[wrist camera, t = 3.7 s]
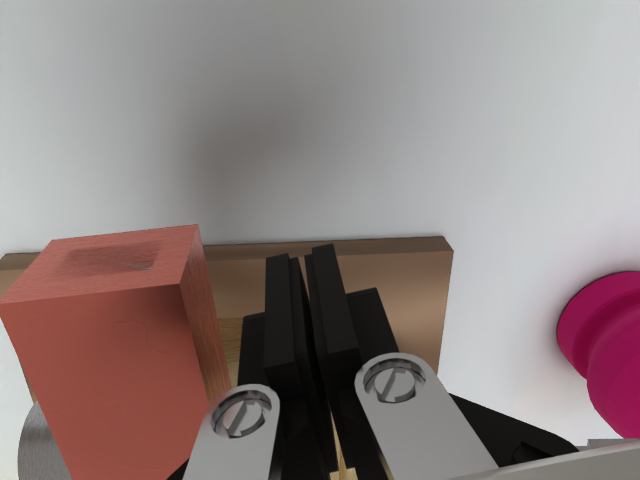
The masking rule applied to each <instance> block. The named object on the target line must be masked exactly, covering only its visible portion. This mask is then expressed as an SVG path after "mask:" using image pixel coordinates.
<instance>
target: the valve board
mask: <svg viewBox="0 0 640 480" xmlns="http://www.w3.org/2000/svg"><path fill="white" fill-rule="evenodd" d="M330 243H333V245H334V249H335V253H336V257H337V261H338V265H339V269H340V273H341V277H342V281H343V285H344V289H345V293H351V292H355V291H360V290H364V289H369V288H373V287H376V288H377V290H378V293H379V296H380V298H381V301H382V304H383V307H384V310H385V312H386V315H387V318H388V321H389V324H390V326H391V329H392V332H393V335H394V338H395V341H396V343H397V346H398V349H399V352H400V353H407V354H411V355H415V356H417V357H419V358H421V359H423V360H424V361H425V362H426V363H427V364H428V365H429V366H430V367H431V368H432V370H433V371H434V373H435V374H436V376H437V373H438V365H439V357H440V350H441V342H442V335H443V327H444V320H445V312H446V305H447V297H448V290H449V282H450V275H451V267H452V259H453V252H454V251H453V249H452V248H451V246H450V245H449V244H448V242H447V241H446V240H445V238H444V237H418V238H393V239H368V240H344V241H319V242H294V243H269V244H244V245H220V246H203V251H204V256H205V260H206V265H207V270H208V275H209V280H210V284H211V289H212V294H213V299H214V304H215V308H216V313H217V318H236V317H244V316H247V315H251V314H256V313H260V312H265V271H266V258H267V257H271V256H276V255H280V254H285V253H288V254H289V257H290V258H294V257H298V259H299V262H300V266H301V270H302V274H303V278H304V282H305V285H306V289H307V293H308V297H309V291H308V284H307V276H306V268H305V260H304V255H307V254H312V249H311V248H312V247H316V246H321V245H325V244H330ZM39 254H40V253H21V254H6V255H5V256H3V257H2V258H1V259H0V298H1V297H2V296H3V295H4V294H5V293H6V292H7V290H8V289H9V288H10V287H11V286H12V285H13V284H14V283H15V281H16V280H17V279H18V278H19V277H20V276H21V275H22V273H23V272H24V271H25V270H26V269H27V268H28V267H29V266H30V264H31V263H32V262H33V261H34V260H35V259H36V258H37V257H38V255H39ZM309 301H310V299H309ZM18 359H19V358H18ZM19 362H20V360H19ZM20 365H21V362H20ZM21 367H22V365H21ZM22 370H23V373H24V376H25V379H26V382H27V385H28V388H29V391H30V394H31V397H32V400H33V403H34V404H35V403H36V401H37V398H36V396H35V394H34V392H33V389H32V387H31V385H30V383H29V380H28V378H27V376H26V374H25V371H24V369H23V367H22Z"/></svg>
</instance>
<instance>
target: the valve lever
mask: <svg viewBox="0 0 640 480" xmlns="http://www.w3.org/2000/svg"><path fill="white" fill-rule="evenodd" d="M0 317H1V320H2V322H3V324H4V326H5V329H6V331H7V333H8V335H9V338H10V340H11V342H12V344H13V347H14V349H15V351H16V353H17V356H18V358H19V360H20V362H21V365H22V367H23V369H24V371H25V374H26V376H27V378H28V380H29V383H30V385H31V387H32V389H33V392H34V394H35V396H36V398H37V401H38V403H39V405H40V407H41V410H42V412H43V414H44V416H45V419H46V421H47V423H48V425H49V428H50V430H51V432H52V434H53V437H54V439H55V441H56V443H57V446H58V448H59V450H60V452H61V455H62V457H63V459H64V462H65V464H66V466H67V468H68V471H69V473H70V475H71V477H72V480H166V479H167V478H168V477H169V476H170V475H171V474H172V473H173V472H175V471H176V470H177V469H178V468H179V467H180V466H181V465H182V464H183V463H184V462H185V461H186V460H187V459H188V458H190V456H191V453H192V450H193V447H194V444H195V441H196V438H197V435H198V432H199V430H200V427H201V424H202V421H203V418H204V415H205V413H206V412H207V410H208V408H209V406H210V405H211V404H212V403H213V402H214V401H215V400H216V399H217V398H218V397H219V396H221V395H222V394H224V393H225V392H227V391H229V390H231V389H232V385H231V380H230V376H229V371H228V366H227V361H226V356H225V352H224V347H223V342H222V337H221V332H220V328H219V323H218V318H217V313H216V308H215V304H214V299H213V294H212V289H211V284H210V280H209V275H208V270H207V265H206V260H205V256H204V251H203V246H202V241H201V237H200V232H199V227H198V224H195V225H185V226H176V227H167V228H158V229H149V230H140V231H131V232H122V233H113V234H104V235H94V236H85V237H76V238H67V239H58V240H52V241H51V242H50V243H49V244H48V245H47V246H46V248H45V249H44V250H43V251H42V252H41V253H40V254H39V255H38V257H37V258H36V259H35V260H34V261H33V262H32V263H31V264H30V266H29V267H28V268H27V269H26V270H25V271H24V272H23V273H22V275H21V276H20V277H19V278H18V279H17V280H16V281H15V283H14V284H13V285H12V286H11V287H10V288H9V289H8V290H7V292H6V293H5V294H4V295H3V296H2V297H1V298H0Z"/></svg>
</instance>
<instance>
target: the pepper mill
mask: <svg viewBox="0 0 640 480" xmlns="http://www.w3.org/2000/svg"><path fill="white" fill-rule="evenodd" d="M557 338H558V344H559V347H560V349H561V351H562V353H563V354H564V355H565V357H566V358H567V359H568V360H569V362H570V363H571V364H572V365H573V366H574V368H575V369H576V370H577V371H578V372H579V374H580V375H581V376H582V377H584V378H585V379H587V388H588V393H589V397H590V400H591V402H592V404H593V406H594V408H595V410H596V411H597V412H598V413H599V414H600V416H601V417H602V418H603V419H604V420H605V421H606V422H607V423H608V424H609V425H610V426H611V427H612V429H613V430H614V431H615V432H616V433H618V434H619V435H620V436H621V437H623V438H624V439H640V272H623V273H617V274H613V275H610V276H607V277H604V278H601V279H599V280H597V281H596V282H594V283H592V284H591V285H589V286H587V287H586V288H584V289H583V290H582V291H581V292H579V293H578V294H577V295H576V296H575V297H574V298H573V299H572V300H571V301H570V302H569V304H568V305H567V307H566V309H565V310H564V312H563V314H562V315H561V318H560V321H559V325H558V328H557Z"/></svg>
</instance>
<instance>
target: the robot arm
mask: <svg viewBox="0 0 640 480" xmlns="http://www.w3.org/2000/svg"><path fill="white" fill-rule="evenodd" d="M311 249H312V254H307V255H304V260H305V268H306V276H307V284H308V291H309V297H308V293H307V289H306V285H305V282H304V278H303V274H302V270H301V266H300V262H299V259H298V257H294V258H290V257H289V254H288V253H285V254H280V255H276V256H271V257H267V258H266V271H265V312H260V313H256V314H251V315H247V316H244V317H243V322H242V334H241V346H240V357H239V369H238V381H237V387H235V388H233V389H231V390H229V391H227V392H225V393H224V394H222V395H221V396H219V397H218V398H217V399H216V400H215V401H214V402H213V403H212V404H211V405H210V406H209V408H208V410H207V412H206V413H205V415H204V418H203V421H202V424H201V427H200V430H199V432H198V435H197V438H196V441H195V444H194V447H193V450H192V453H191V456H190V458H188V459H187V460H186V461H185V462H184V463H183V464H182V465H181V466H180V467H179V468H178V469H177V470H176V471H175V472H173V473H172V474H171V475H170V476H169V477H168V478H167V479H166V480H331V478H330V473H332V472H337V471H339V465H338V458H337V451H336V444H335V437H334V430H333V423H332V417H333V420H334V424H335V428H336V432H337V436H338V439H339V443H340V447H341V451H342V454H343V458H344V462H345V466H346V469H350V468H355V471H356V475H357V479H358V480H640V439H588V444H587V446H574V445H573V444H571V443H570V442H569V441H567V440H565V439H563V438H561V437H559V436H558V435H556V434H553V433H551V432H548V431H546V430H543V429H540V428H538V427H535V426H533V425H530V424H527V423H525V422H522V421H520V420H517V419H515V418H512V417H509V416H507V415H504V414H502V413H499V412H497V411H494V410H491V409H489V408H486V407H484V406H481V405H479V404H476V403H473V402H471V401H468V400H466V399H463V398H461V397H458V396H455V395H453V394H450V393H448V392H447V390H446V389H445V387H444V386H443V384H442V383H441V382H440V380H439V379H438V377H437V376H436V374H435V373H434V371H433V370H432V368H431V367H430V366H429V365H428V364H427V363H426V362H425V361H424V360H423V359H421V358H419V357H417V356H415V355H411V354H407V353H400V352H399V349H398V346H397V343H396V341H395V338H394V335H393V332H392V329H391V326H390V324H389V321H388V318H387V315H386V312H385V310H384V307H383V304H382V301H381V298H380V296H379V293H378V290H377V288H376V287H373V288H369V289H364V290H360V291H355V292H351V293H345V289H344V285H343V281H342V277H341V273H340V269H339V265H338V261H337V257H336V253H335V249H334V245H333V243H330V244H325V245H321V246H316V247H312V248H311ZM309 299H310V301H309ZM331 413H332V416H331Z"/></svg>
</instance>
